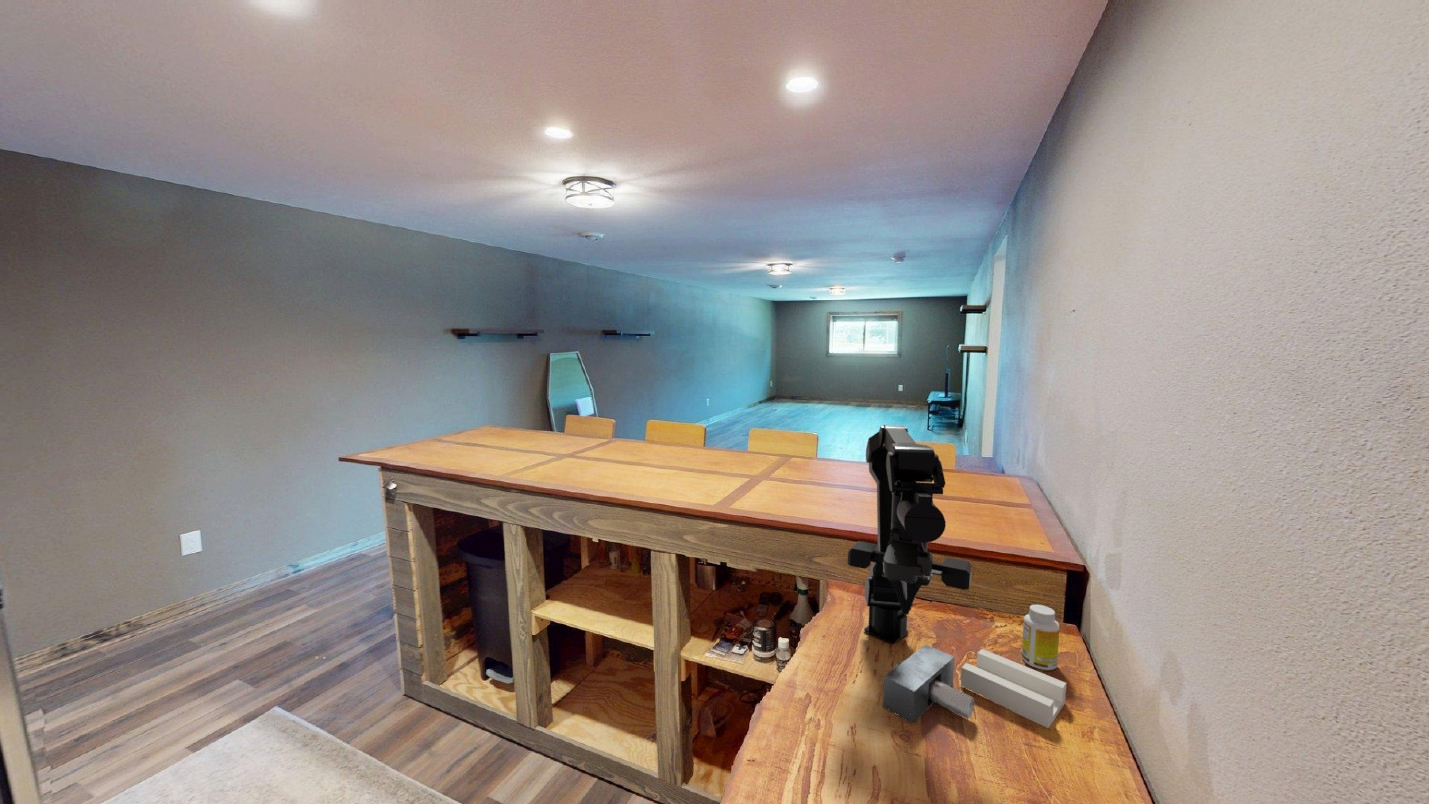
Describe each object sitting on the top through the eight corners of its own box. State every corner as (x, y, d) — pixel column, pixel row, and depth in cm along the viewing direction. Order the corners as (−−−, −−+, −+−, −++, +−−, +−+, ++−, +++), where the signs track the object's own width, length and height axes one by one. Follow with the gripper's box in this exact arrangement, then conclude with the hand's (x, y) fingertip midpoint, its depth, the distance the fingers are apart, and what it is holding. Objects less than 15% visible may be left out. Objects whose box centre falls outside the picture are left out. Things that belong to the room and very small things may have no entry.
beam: (882, 707, 82) (884, 676, 81) (924, 672, 91) (925, 644, 91) (912, 723, 78) (914, 691, 78) (952, 685, 87) (954, 656, 87)
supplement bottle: (1063, 667, 93) (1067, 613, 92) (1045, 675, 91) (1048, 619, 90) (1033, 651, 98) (1036, 599, 97) (1014, 658, 96) (1017, 605, 95)
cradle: (960, 686, 87) (961, 667, 87) (980, 667, 93) (981, 648, 92) (1048, 728, 77) (1049, 706, 77) (1065, 703, 83) (1066, 682, 83)
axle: (891, 683, 86) (893, 664, 86) (901, 678, 89) (903, 659, 89) (964, 721, 77) (966, 700, 77) (973, 714, 80) (975, 694, 80)
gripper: (839, 525, 82) (836, 619, 83) (968, 547, 73) (963, 653, 74) (857, 508, 92) (854, 593, 93) (974, 526, 82) (969, 620, 83)
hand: (905, 613), depth 85 cm, fingers closed
